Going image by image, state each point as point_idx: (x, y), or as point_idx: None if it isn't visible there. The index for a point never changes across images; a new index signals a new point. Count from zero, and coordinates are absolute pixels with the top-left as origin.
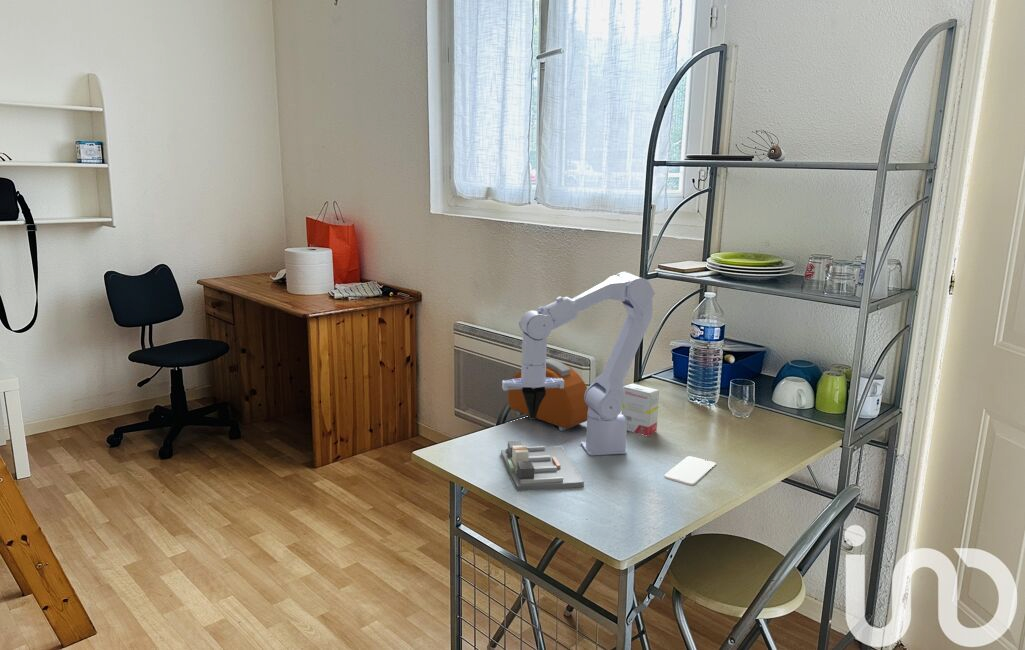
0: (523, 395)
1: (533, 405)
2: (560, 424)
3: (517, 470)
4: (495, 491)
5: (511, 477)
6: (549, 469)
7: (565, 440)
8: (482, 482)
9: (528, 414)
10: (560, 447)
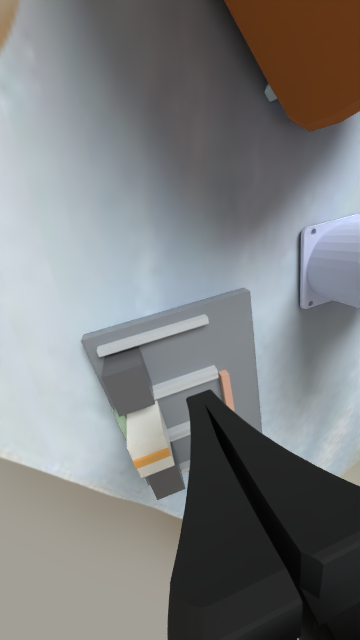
0: (185, 525)
1: (232, 466)
2: (282, 95)
3: None
4: (108, 485)
5: None
6: None
7: (266, 203)
8: (74, 467)
9: (187, 405)
10: (247, 297)
